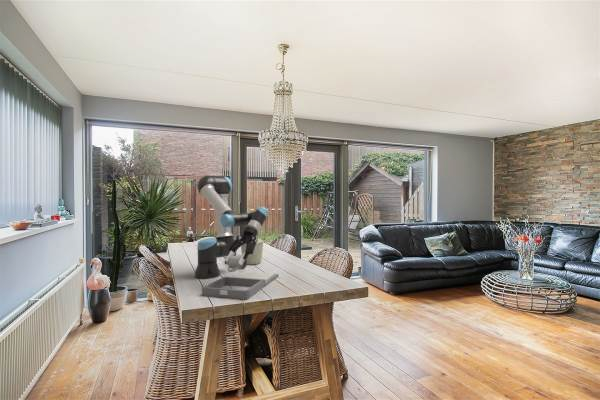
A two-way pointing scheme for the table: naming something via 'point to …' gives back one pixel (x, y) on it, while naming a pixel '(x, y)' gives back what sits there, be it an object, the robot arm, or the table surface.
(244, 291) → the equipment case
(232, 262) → the ceramic mug
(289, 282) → the table surface
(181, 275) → the table surface
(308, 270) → the table surface
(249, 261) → the canister
